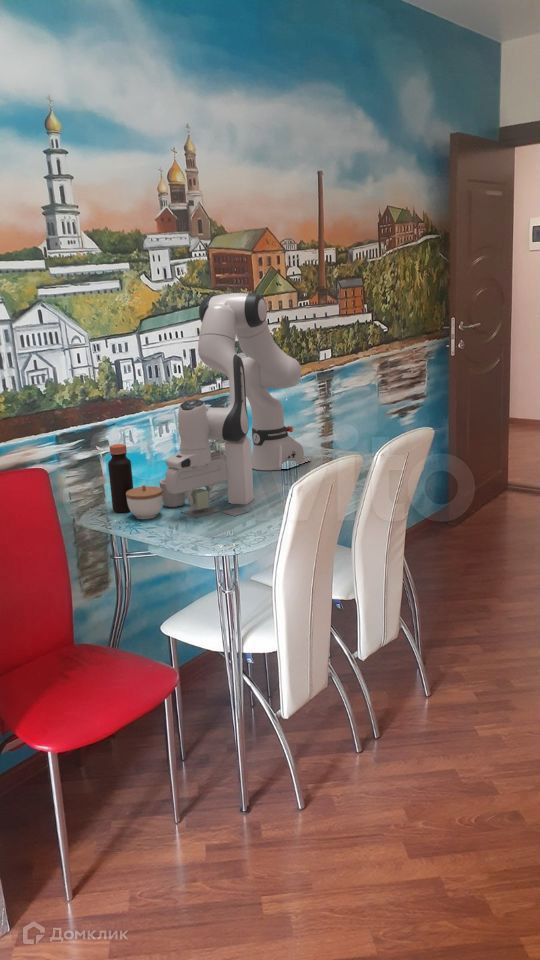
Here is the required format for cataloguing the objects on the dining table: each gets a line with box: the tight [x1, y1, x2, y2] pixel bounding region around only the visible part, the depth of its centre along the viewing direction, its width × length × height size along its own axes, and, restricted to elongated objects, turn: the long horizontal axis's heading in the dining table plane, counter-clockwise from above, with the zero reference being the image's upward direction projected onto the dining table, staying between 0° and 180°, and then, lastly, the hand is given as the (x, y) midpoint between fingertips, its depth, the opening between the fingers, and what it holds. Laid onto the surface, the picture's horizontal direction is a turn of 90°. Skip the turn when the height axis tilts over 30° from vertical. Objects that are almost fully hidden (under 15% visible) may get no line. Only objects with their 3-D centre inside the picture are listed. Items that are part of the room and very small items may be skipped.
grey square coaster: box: [222, 506, 251, 517], centre depth 245 cm, size 6×6×1 cm
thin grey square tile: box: [181, 507, 219, 518], centre depth 247 cm, size 8×8×1 cm
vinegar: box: [107, 443, 134, 514], centre depth 251 cm, size 7×7×20 cm
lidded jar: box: [126, 484, 164, 520], centre depth 245 cm, size 11×11×9 cm
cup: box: [159, 477, 195, 508], centre depth 254 cm, size 11×8×8 cm
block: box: [189, 487, 210, 510], centre depth 246 cm, size 4×4×5 cm
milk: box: [224, 434, 255, 505], centre depth 253 cm, size 6×6×22 cm
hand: (199, 501), depth 246 cm, fingers closed on block, 4 cm apart
